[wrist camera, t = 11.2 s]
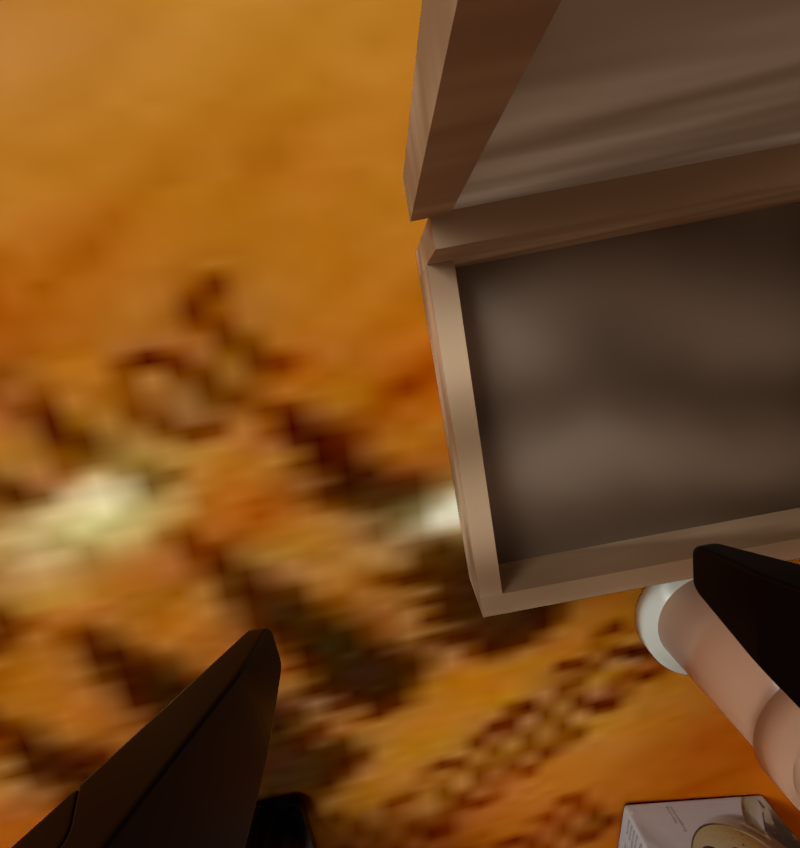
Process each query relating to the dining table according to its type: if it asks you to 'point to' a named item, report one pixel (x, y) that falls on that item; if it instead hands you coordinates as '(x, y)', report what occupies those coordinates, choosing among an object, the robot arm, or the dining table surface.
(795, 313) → the open wooden box
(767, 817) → the coffee box
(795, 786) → the terracotta pot
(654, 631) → the saucer
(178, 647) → the dining table surface
